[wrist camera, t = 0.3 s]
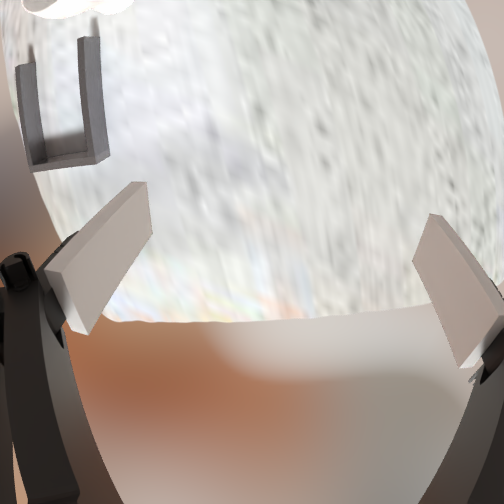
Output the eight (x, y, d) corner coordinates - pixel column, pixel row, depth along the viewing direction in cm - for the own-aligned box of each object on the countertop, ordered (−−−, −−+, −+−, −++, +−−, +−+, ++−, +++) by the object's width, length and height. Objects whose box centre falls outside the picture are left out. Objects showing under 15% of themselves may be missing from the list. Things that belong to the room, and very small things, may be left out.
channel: (31, 64, 30) (15, 67, 27) (99, 37, 29) (84, 36, 26) (44, 164, 41) (30, 172, 38) (110, 155, 40) (96, 164, 36)
